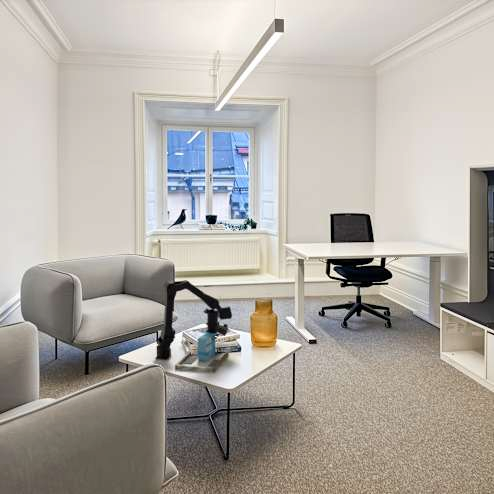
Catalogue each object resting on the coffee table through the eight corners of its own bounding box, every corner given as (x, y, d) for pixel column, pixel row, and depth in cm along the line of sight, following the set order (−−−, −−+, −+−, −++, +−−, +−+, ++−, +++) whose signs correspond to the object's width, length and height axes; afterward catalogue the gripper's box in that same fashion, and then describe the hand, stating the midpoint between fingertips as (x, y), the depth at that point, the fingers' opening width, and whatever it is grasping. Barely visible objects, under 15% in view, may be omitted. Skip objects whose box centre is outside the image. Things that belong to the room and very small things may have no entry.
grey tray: (175, 369, 229) (175, 365, 229) (192, 351, 254) (192, 348, 254) (214, 372, 225) (214, 368, 224) (228, 354, 250) (228, 351, 250)
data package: (205, 362, 239) (205, 339, 238) (197, 360, 240) (197, 338, 239) (215, 354, 250) (215, 332, 249) (207, 353, 252) (207, 331, 250)
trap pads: (183, 363, 237) (183, 362, 236) (189, 357, 245) (189, 356, 245) (216, 366, 233) (216, 365, 233) (221, 360, 241) (221, 359, 241)
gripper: (222, 326, 243) (222, 355, 245) (231, 317, 261) (231, 344, 263) (201, 324, 246) (201, 353, 247) (212, 315, 264) (212, 342, 266)
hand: (212, 348), depth 256 cm, fingers closed
